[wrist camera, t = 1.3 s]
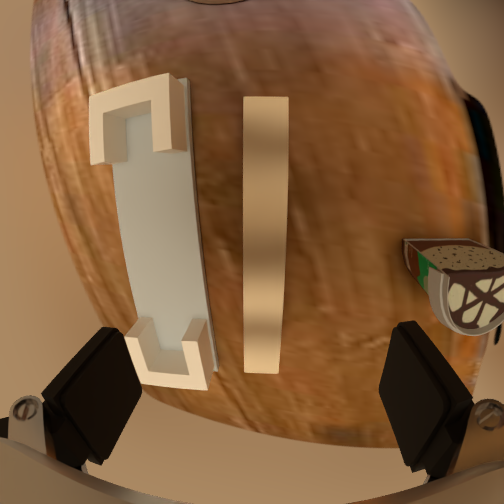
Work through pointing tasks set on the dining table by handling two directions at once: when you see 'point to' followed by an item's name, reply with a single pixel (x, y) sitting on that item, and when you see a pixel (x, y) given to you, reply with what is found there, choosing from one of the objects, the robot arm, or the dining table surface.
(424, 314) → the dining table surface
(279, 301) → the slat
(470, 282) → the food container
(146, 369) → the frame
